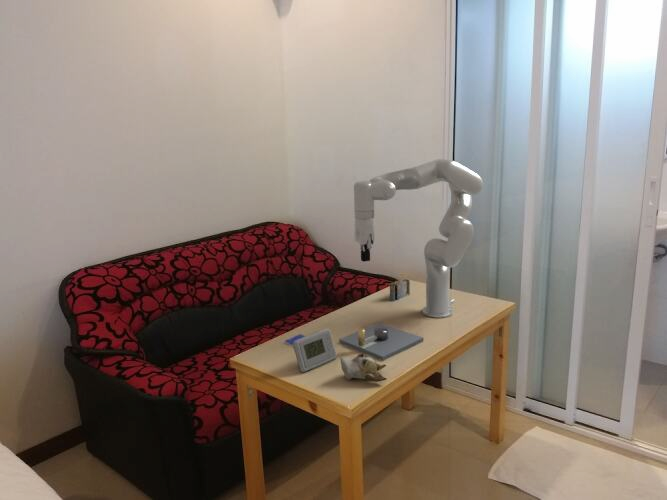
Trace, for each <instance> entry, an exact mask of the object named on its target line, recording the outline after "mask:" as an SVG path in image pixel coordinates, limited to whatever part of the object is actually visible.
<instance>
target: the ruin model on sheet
mask: <svg viewBox="0 0 667 500" xmlns="http://www.w3.org/2000/svg"><path fill="white" fill-rule="evenodd" d="M410 286H411V280H410V279H407V278H404V279H401V280H397V281H394V282H390V284H389V301H391V302H395V301H396V300H397V301H399V300H401V299H403V298H406V297H408V296H410V295H411V287H410Z"/></svg>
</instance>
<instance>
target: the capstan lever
mask: <svg viewBox="0 0 667 500" xmlns="http://www.w3.org/2000/svg"><path fill="white" fill-rule="evenodd" d="M357 332H358V344H359V345H360V346H364V345H365V344H366V343H368V342H371V341H373V340H386V339H388V329H386V328H376V329H375V330H374V335H373V336H371V337H368V338H366V339H365V328H359V329H358V330H357Z"/></svg>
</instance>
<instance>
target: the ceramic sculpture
mask: <svg viewBox="0 0 667 500" xmlns="http://www.w3.org/2000/svg"><path fill="white" fill-rule="evenodd" d="M339 360H340V366H341V371H342V373H343V375H344V376H345V378H346V379H347V380H348V381H350V380H351V379H353V378H355V379H361V380H368V381H370V382H374V383H378V382H383V381H386V380H388V379H387V377H385V376H383V375H382V374H381V373H379V371H381V370H383V369H384V368H385V367H386V366H387V364H379V363H377V362H376V360H375V359H374V357H373V356H367V355H364V353H361V354H357V355H356V356H355V357H354V358H348V357H340V359H339Z"/></svg>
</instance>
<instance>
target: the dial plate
mask: <svg viewBox="0 0 667 500" xmlns="http://www.w3.org/2000/svg"><path fill="white" fill-rule="evenodd" d="M376 328H386V329H388V339H386V340H373V341H371V342H368V343H366V344H365V345H364V346H360V345H359V344H358V331H357V332H356V331H355V332H353V333H351V334H349V335H347V336H344V337H342V338H339V341H338V342H339V344H342V345H343V346H346V347H348V348H351V349H353V350H356V351H358V352H361V353H362V354H366V355H368V356H369V357H372V358H376V359H378V360H381V361H386V360H387V359H390V358H393V357H394V356H396V355H398V354H400V353H402V352H404V351H406V350H409V349H411V348H413V347H415V346H417V345H419V344H421V343H423V342H424V337H422V336H420V335H417V334H413V333H412V332H408V331H405V330H402V329H399V328H396V327H393V326H390V325H387V324H385V323H382V322H377V323H376V324H373V325H370V326H368V327H366V328H365V327H364V329H365V339H366V338H368V337H371V336H373V335H374V330H375V329H376Z"/></svg>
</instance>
